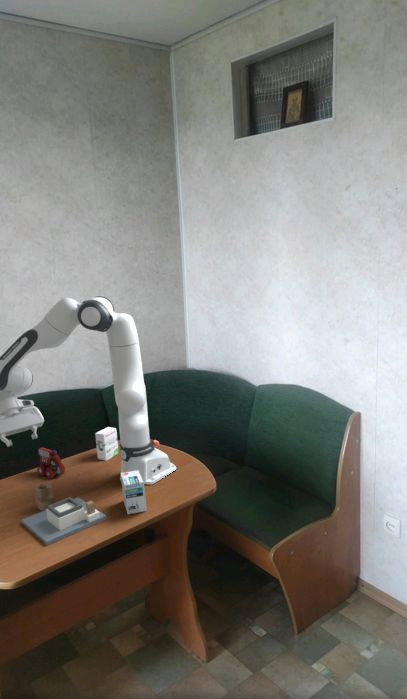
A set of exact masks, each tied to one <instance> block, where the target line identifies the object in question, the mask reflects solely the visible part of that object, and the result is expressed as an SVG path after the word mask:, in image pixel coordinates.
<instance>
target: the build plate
mask: <svg viewBox="0 0 407 699" xmlns="http://www.w3.org/2000/svg"><path fill="white" fill-rule="evenodd" d="M95 506H96V505H95V502H94V501H93V500H89V501H87V502H86V501H84V500H83V498H80V497H75V498H72V497H71V496H69V497H67V498H64V499H61V500H58V501H57V502H54V504H51V505H49V506H48V509H46V510H45V511H40V512H38V513H35V514H32V515H31V516H28V517H27V516H26V517H25V518H23V519H20V521H21V524H22V525H23V526H24V527H26V529H28V530H29V531H30V532H31V533H32V534H34V535H35V536H36V537H37V538H38V539H39V540H40V541H41V542H42V543H43V544H45V545H46V546H49V545H52V544H54V543H56V542H58V541H60V540H63V539H65V538H68V537H70V536H72V535H75V534H76V533H78V532H81V531H83V530H86V529H87V528H90V527H92V526H94V525H97V524H98V523H101V522H104V521H105V520H107V515H105V513H103V512H101V511H99V509H97V508H96V507H95Z"/></svg>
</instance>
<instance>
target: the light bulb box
mask: <svg viewBox="0 0 407 699" xmlns="http://www.w3.org/2000/svg"><path fill="white" fill-rule="evenodd" d="M120 475H121V481H122V482H121V481H120V482H121V489H122V498H123V504H124V506H125V511H126V514H127V515H132V514H137V513H142V512H147V510H148V509H147V501H146V489H145V484H144V481H143V479H142V477H141V475H140V472H139V470H137V471H131V472H124V473H121V472H120Z"/></svg>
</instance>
